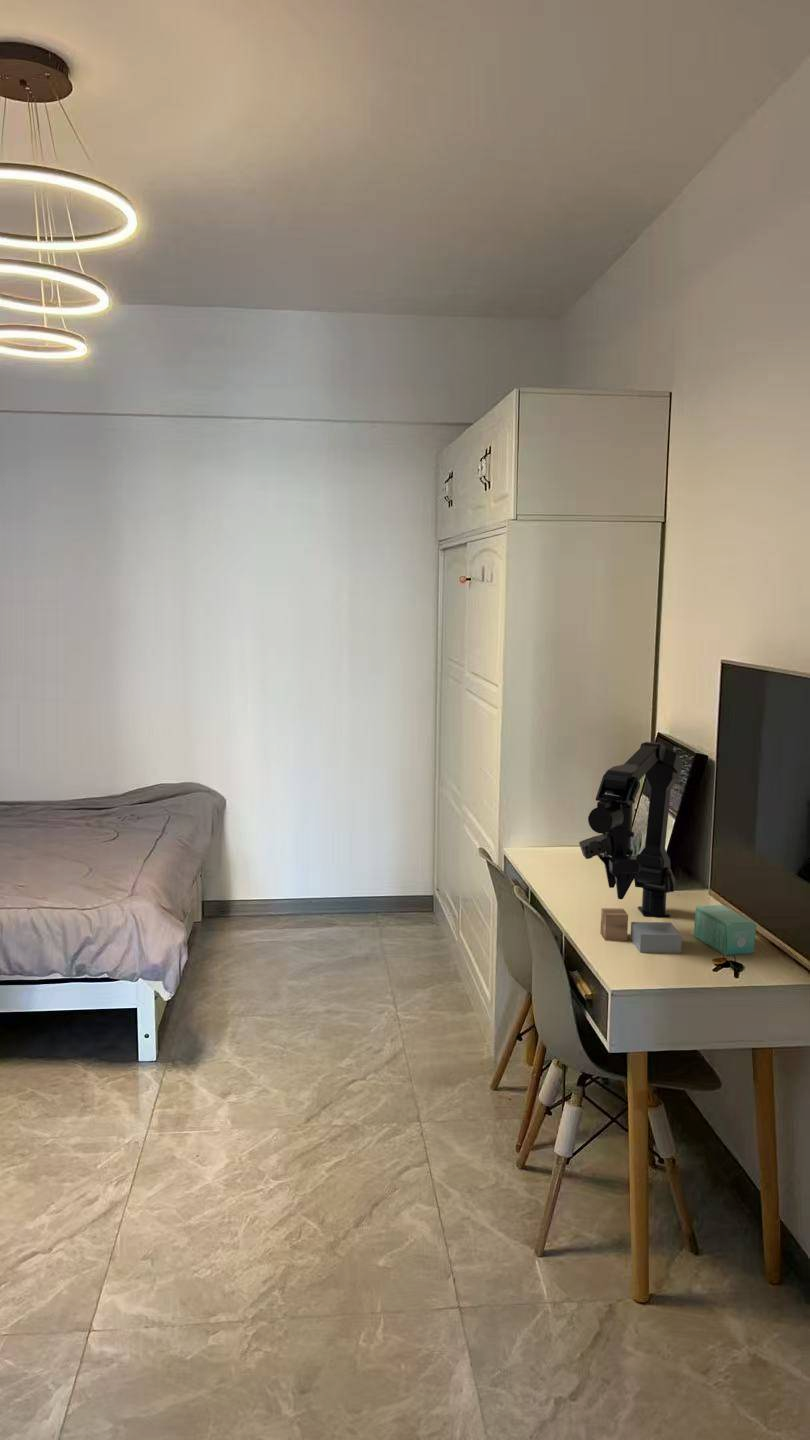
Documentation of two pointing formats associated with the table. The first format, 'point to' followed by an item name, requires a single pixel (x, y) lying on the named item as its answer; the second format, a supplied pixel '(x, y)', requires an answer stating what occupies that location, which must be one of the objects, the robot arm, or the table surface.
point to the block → (614, 924)
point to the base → (656, 937)
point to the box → (724, 930)
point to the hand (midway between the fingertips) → (615, 893)
